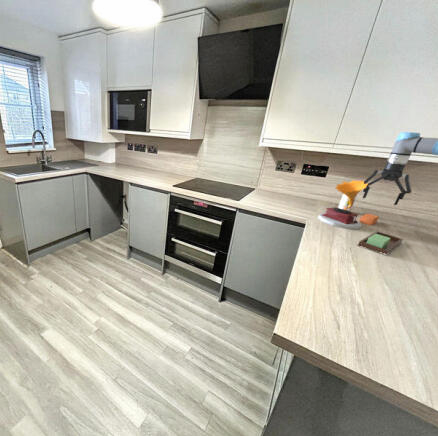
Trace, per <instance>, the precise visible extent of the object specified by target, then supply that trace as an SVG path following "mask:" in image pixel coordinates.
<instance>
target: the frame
mask: <svg viewBox="0 0 438 436" xmlns="http://www.w3.org/2000/svg"><path fill="white" fill-rule="evenodd" d="M374 234H379V235H382V236H385V237H389V238H391V239H390V241H389V243H388V245H387V246H386V247H384V248H380V247H377V246H374V245H371V244H368V243H366V242H367V240H368V238H369V237H371V236H373V235H374ZM403 241H404V238H401V237H397V236H395V235H391V234H387V233H384V232H381V231H375V232H373V233H371V234H369V235H368V236H366V237H365V238H362V239H360V240H359V242H358V244H357V246H358V245H359V246H358V247H360V246H363V247H366V248H369V249H372V250H375V251H378V252H382V253H385V254H387V253H388V252H389V253H391V252H392V251H393V250H394V249H396V248H397V247H399V246H400V245H401V244H402V242H403ZM396 246H397V247H396ZM363 247H362V248H363ZM395 247H396V248H395ZM366 248H365V249H366ZM369 249H368V250H369ZM392 249H393V250H392ZM372 250H371V251H372ZM391 250H392V251H391ZM375 251H374V252H375ZM378 252H377V253H378ZM389 253H388V254H389ZM388 254H387V255H388Z"/></svg>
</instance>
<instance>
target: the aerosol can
mask: <svg viewBox="0 0 438 436" xmlns="http://www.w3.org/2000/svg"><path fill="white" fill-rule="evenodd" d="M357 196H358V193H357V194H356V195H355V196H354V200H353V204H352V207H350V209H349V211H350V212H351V211H352V208H353V205H354V203H355V201H356V198H357ZM349 204H350V202H349V198H348V197H347V196H346V195H345V194H343V193H342V196H341V199H340V201H339V203H338V206H337V208H340V209H344V207H346V208H348V205H349ZM346 210H348V209H346Z"/></svg>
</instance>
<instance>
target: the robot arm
mask: <svg viewBox="0 0 438 436" xmlns="http://www.w3.org/2000/svg"><path fill="white" fill-rule="evenodd" d="M391 149H392V150H391V152H390V154H389V156H388V158H387V162H386V163H385V165H384V168H383V170H379V169H375V170H374V172H373V173H372V174H370V176H368V177H367V178H366V179H365V180H363V181H364V184H368V185H367V186H366V188H364V189H362V192H363V196H362V199H366V198H367V196H368V193H369V191H370V189H371V186H372V185H374V184H376V183H377V182H380V181H381V180H384V181H389V182H394V183H395V184H396V186H397V187H398V189H399V190H400V192H399V193H398V195H397V197H396V199H395V201H394V203H393V206H397V205H398V203H399V202H400V200H403V199H404V198H405V196H406V194H411V193H412V187H411V182H410V177H411V174H407V173H405V174H404V173H403V172H404V170H405V168H406V166H407V165H406V164H408V162H409V160H410V157H411V156H412V154H413V153H414V154H423V155H431V156H432V155H433V156H438V137H425V136H424V137H423V136H421V133H420V132H409V131H403V132H400V133H399V134H398V136H397V138H396V140H395V142H394V144H393V146H392V148H391ZM379 174H380V175H381V176H380V177H378V178H376V179H374V180H372V179H373V178H375V177H376V176H377V175H379ZM401 178H402V179H404V183H405V187H404V185H403V184H402V182H401V180H400V179H401ZM371 180H372V181H371ZM370 181H371V182H370ZM405 188H406V189H405Z"/></svg>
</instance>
